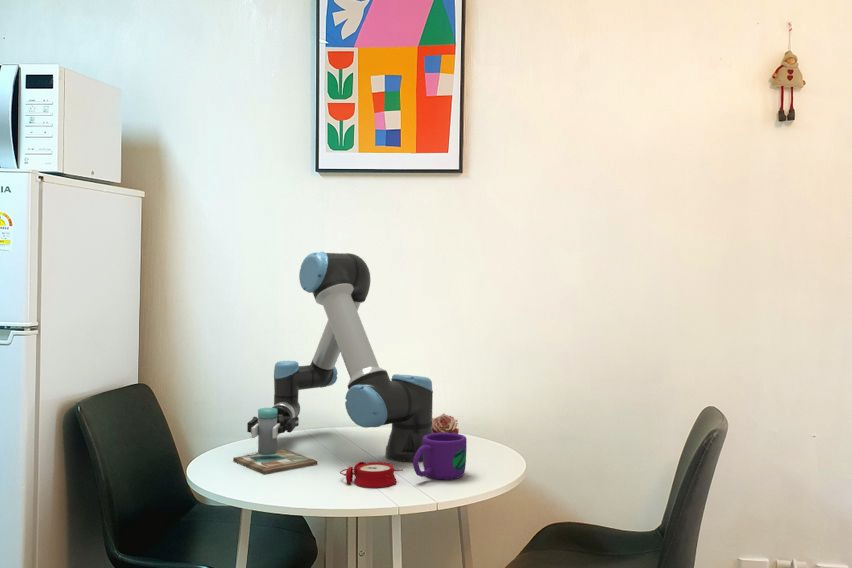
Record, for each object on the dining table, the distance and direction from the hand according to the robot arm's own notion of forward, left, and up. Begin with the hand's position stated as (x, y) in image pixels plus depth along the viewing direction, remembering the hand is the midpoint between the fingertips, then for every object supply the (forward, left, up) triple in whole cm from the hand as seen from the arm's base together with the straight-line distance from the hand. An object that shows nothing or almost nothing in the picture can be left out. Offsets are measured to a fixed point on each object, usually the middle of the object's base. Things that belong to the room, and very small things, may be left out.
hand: (263, 433), depth 189 cm
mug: (-37, -29, -9) cm, 48 cm away
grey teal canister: (+4, -3, -6) cm, 8 cm away
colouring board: (+3, -5, -9) cm, 11 cm away
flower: (-7, -59, -9) cm, 60 cm away
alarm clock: (-29, -14, -10) cm, 34 cm away
